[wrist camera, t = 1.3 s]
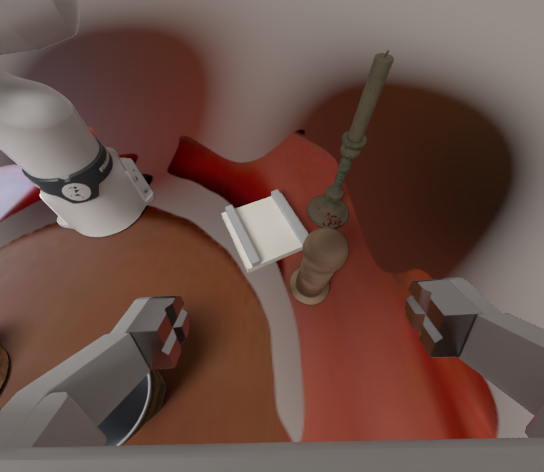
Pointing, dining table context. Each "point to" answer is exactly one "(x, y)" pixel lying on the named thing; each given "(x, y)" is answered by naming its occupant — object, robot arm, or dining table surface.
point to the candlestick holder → (350, 149)
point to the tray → (265, 230)
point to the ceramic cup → (134, 410)
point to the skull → (3, 365)
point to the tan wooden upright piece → (318, 265)
